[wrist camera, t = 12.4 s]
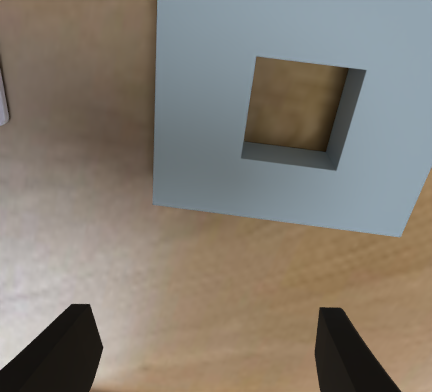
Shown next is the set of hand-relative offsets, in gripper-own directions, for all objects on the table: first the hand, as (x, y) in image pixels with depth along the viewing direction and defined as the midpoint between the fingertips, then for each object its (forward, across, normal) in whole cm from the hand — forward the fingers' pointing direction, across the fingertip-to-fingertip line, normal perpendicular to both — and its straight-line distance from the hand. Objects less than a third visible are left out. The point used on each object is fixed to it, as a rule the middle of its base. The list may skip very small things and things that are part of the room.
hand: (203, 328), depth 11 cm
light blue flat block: (+10, -4, -4) cm, 12 cm away
